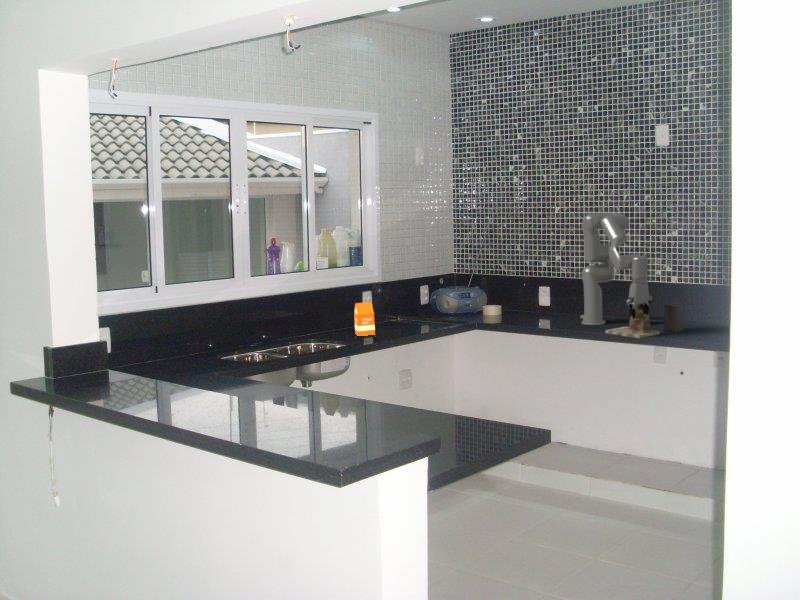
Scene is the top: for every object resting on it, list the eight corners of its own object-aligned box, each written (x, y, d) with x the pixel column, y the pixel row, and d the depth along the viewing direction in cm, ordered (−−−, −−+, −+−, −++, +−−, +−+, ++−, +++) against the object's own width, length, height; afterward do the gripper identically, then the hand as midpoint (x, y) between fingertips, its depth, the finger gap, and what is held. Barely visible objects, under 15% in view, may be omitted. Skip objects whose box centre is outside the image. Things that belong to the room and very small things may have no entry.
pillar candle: (660, 330, 442) (660, 301, 440) (672, 327, 448) (672, 299, 446) (676, 332, 434) (676, 303, 432) (688, 330, 440) (688, 300, 438)
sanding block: (629, 331, 435) (629, 319, 434) (636, 330, 438) (636, 318, 437) (643, 333, 428) (643, 321, 427) (650, 332, 430) (650, 320, 430)
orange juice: (375, 341, 450) (373, 302, 447) (359, 342, 447) (356, 304, 445) (371, 338, 457) (369, 301, 454) (355, 340, 455) (353, 302, 452)
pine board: (605, 333, 442) (605, 330, 442) (625, 329, 450) (625, 326, 450) (639, 338, 424) (639, 335, 423) (659, 334, 432) (659, 331, 432)
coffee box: (647, 323, 466) (647, 293, 464) (649, 325, 460) (649, 294, 457) (630, 323, 467) (629, 293, 465) (632, 325, 461) (631, 295, 458)
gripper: (645, 278, 437) (644, 312, 440) (621, 282, 428) (621, 316, 430) (657, 279, 431) (656, 313, 434) (633, 283, 422) (633, 318, 424)
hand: (639, 315), depth 432 cm, fingers open, 9 cm apart
